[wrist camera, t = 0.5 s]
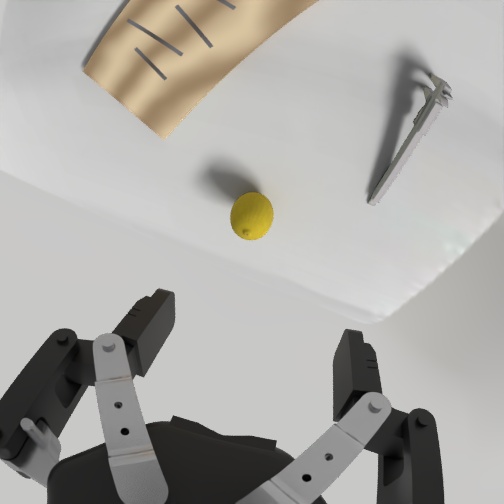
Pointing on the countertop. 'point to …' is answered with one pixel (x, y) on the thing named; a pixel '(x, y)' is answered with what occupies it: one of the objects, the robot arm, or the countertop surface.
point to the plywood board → (180, 51)
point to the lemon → (251, 216)
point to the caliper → (415, 133)
